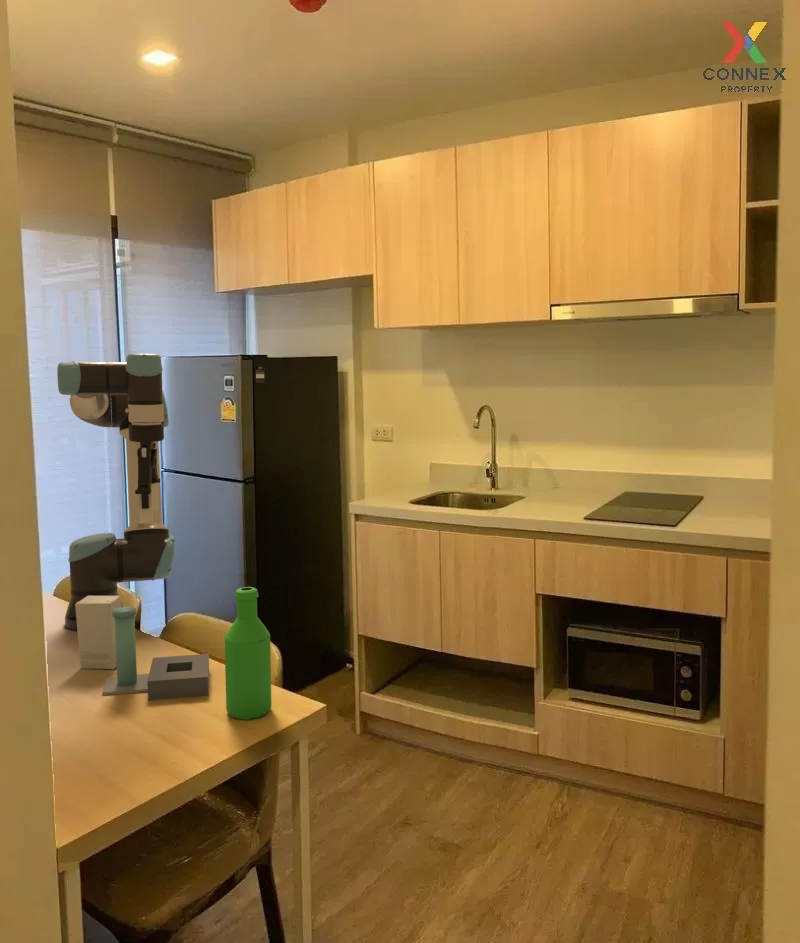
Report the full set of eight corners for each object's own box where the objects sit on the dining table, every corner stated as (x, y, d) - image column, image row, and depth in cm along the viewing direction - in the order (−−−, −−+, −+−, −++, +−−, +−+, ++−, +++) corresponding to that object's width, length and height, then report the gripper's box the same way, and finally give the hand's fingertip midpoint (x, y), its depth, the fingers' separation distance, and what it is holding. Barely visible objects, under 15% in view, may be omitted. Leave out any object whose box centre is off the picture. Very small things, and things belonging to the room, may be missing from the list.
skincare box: (125, 660, 190) (123, 595, 188) (113, 670, 183) (110, 603, 181) (91, 659, 191) (88, 594, 189) (77, 669, 184) (74, 602, 182)
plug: (116, 679, 177) (113, 607, 174) (140, 677, 178) (137, 606, 176) (114, 687, 172) (110, 614, 170) (137, 685, 173) (134, 612, 171)
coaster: (108, 679, 178) (107, 676, 178) (151, 676, 180) (150, 673, 180) (102, 695, 169) (102, 692, 169) (147, 691, 171) (147, 689, 171)
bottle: (263, 699, 168) (261, 581, 164) (277, 715, 160) (275, 591, 157) (221, 707, 163) (218, 586, 160) (233, 724, 156) (230, 597, 153)
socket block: (153, 675, 181) (152, 657, 180) (209, 671, 183) (208, 653, 183) (148, 700, 167) (147, 681, 167) (208, 695, 170) (207, 676, 169)
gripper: (134, 419, 193) (138, 507, 196) (121, 428, 169) (125, 528, 172) (167, 418, 195) (170, 506, 198) (158, 428, 171) (162, 527, 174)
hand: (149, 516), depth 185 cm, fingers open, 13 cm apart
